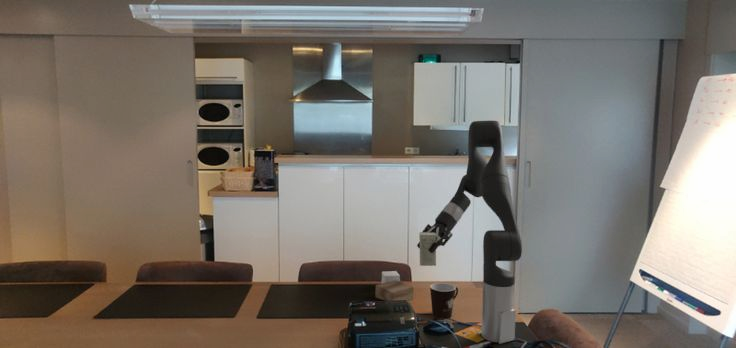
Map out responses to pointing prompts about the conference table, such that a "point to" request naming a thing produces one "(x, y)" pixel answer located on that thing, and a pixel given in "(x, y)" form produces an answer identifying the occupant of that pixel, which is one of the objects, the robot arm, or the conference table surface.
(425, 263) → the skincare box
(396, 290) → the walnut block
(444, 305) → the coffee mug
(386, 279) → the white cube
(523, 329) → the conference table surface
